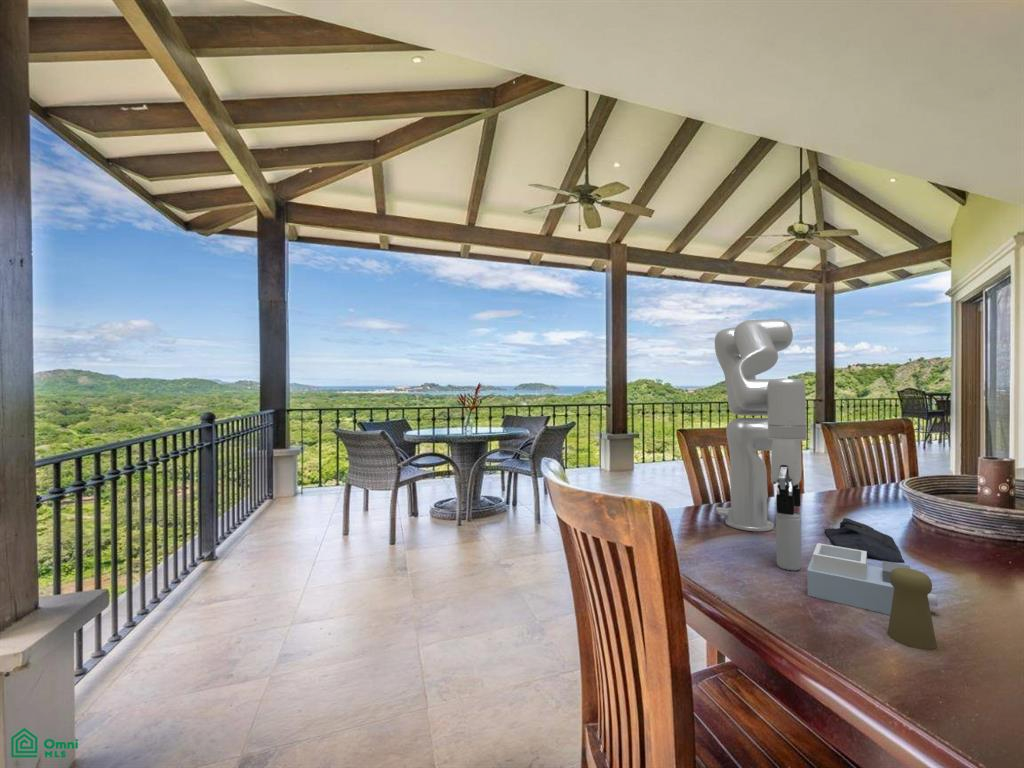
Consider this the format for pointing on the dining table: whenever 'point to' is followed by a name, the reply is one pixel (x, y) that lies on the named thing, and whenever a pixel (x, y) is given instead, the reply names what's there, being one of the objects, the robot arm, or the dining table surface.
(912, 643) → the olive pepper mill
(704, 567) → the dining table surface
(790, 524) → the beverage can
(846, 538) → the dark slate chunk
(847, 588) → the recessed tray block
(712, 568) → the dining table surface
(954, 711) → the dining table surface
